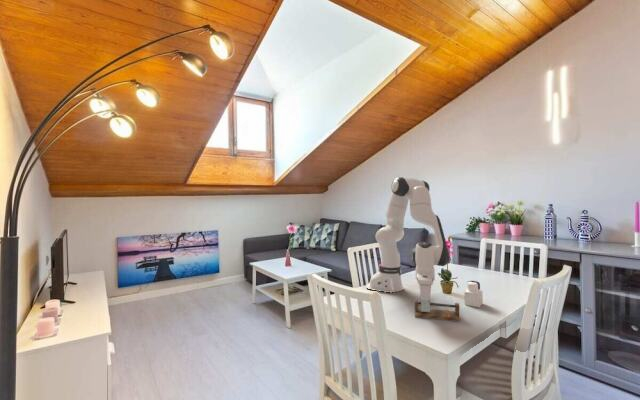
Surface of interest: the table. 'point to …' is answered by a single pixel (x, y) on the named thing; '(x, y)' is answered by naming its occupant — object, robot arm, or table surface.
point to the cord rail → (438, 312)
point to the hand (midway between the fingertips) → (425, 303)
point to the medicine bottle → (473, 294)
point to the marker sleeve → (425, 309)
